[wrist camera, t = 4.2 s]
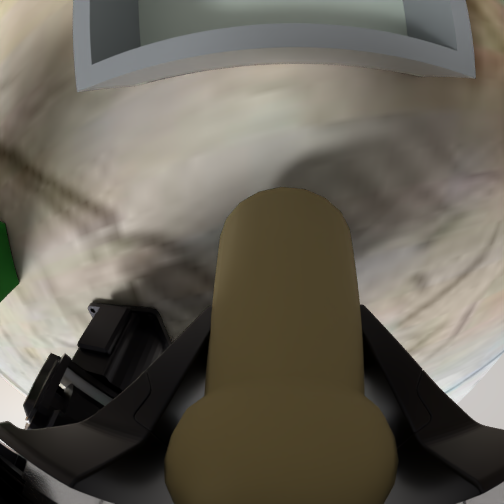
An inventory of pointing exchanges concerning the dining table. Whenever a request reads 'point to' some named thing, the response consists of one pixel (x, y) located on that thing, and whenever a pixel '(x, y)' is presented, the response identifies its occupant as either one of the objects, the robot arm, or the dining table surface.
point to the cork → (283, 369)
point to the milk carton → (6, 265)
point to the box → (266, 37)
